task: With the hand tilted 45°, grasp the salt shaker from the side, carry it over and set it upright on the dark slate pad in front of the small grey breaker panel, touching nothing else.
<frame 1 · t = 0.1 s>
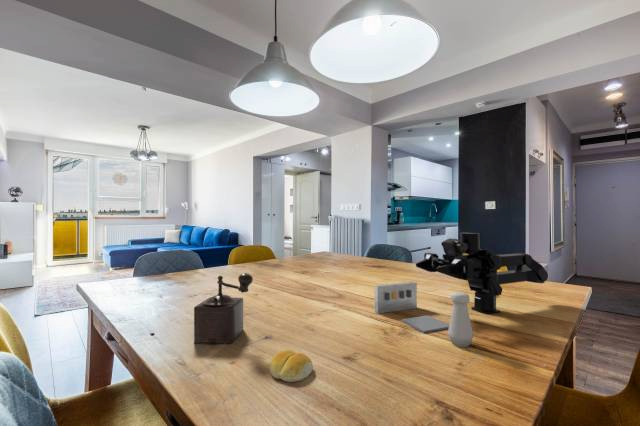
hand: (425, 267, 94), 17 cm above the table, tool horizontal, fingers open, 9 cm apart
manual coffee grinder: (228, 337, 82), on the table
bread roll: (291, 373, 64), on the table
slate pad: (425, 324, 91), on the table
salt shaker: (460, 344, 77), on the table
breaker panel: (396, 309, 105), on the table
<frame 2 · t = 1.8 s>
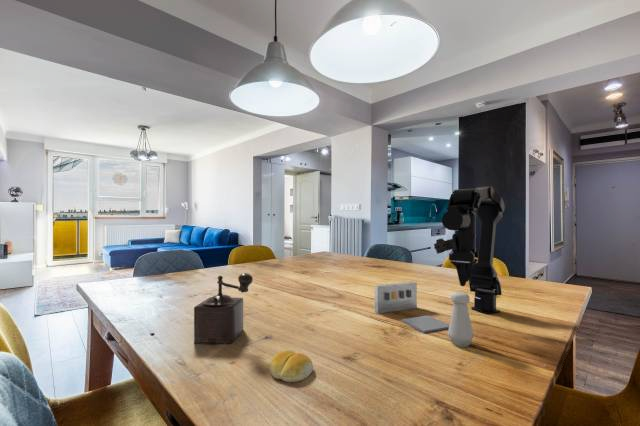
hand: (464, 283, 89), 13 cm above the table, tool pointing down, fingers open, 9 cm apart
nothing on the table moved.
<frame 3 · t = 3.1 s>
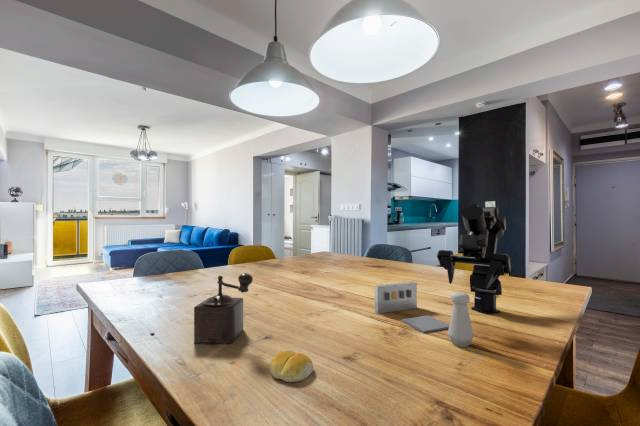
hand: (467, 285, 83), 13 cm above the table, tool tilted 45°, fingers open, 9 cm apart
nothing on the table moved.
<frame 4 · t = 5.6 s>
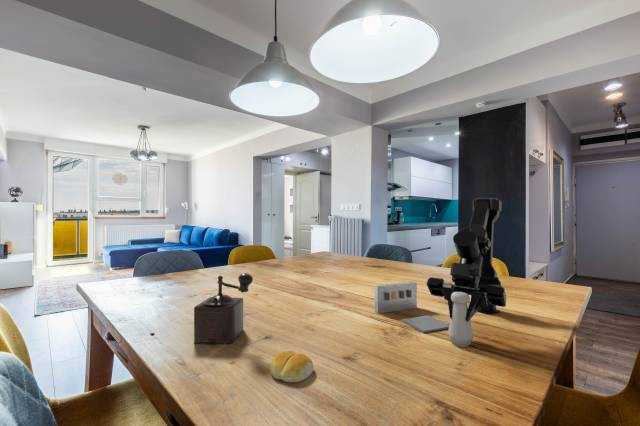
hand: (458, 319, 76), 7 cm above the table, tool tilted 45°, fingers closed on salt shaker, 3 cm apart
salt shaker: (460, 344, 77), on the table, touching gripper
everything else where it was.
when the fingers open (8 cm above the table, at t = 8.8 s): salt shaker stays where it is, resting on slate pad.
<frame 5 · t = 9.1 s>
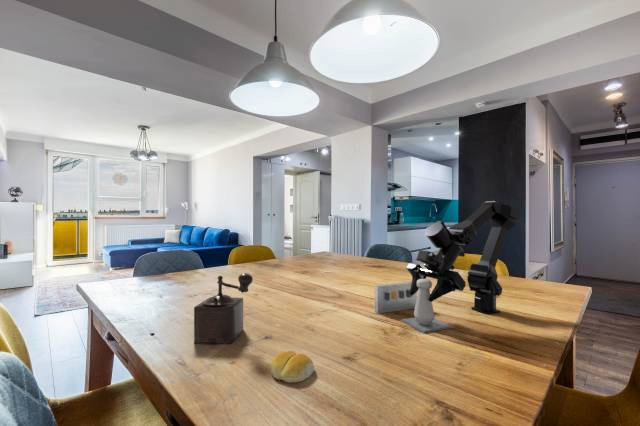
hand: (419, 297, 90), 8 cm above the table, tool tilted 45°, fingers open, 7 cm apart
salt shaker: (424, 323, 90), resting on slate pad
everything else where it was.
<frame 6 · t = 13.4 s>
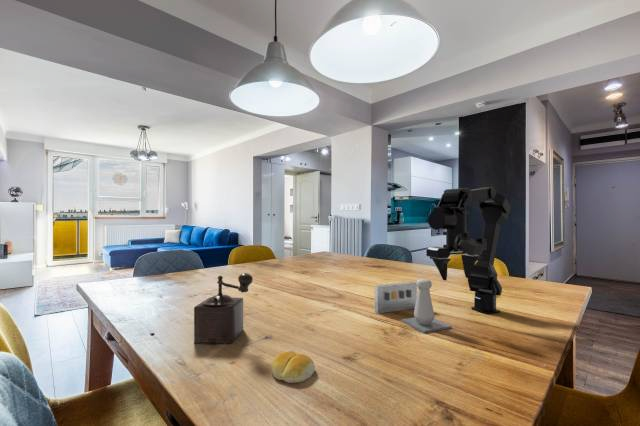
hand: (456, 279, 94), 13 cm above the table, tool pointing down, fingers open, 9 cm apart
nothing on the table moved.
at the end: salt shaker inside the target area on the slate pad (0.7 cm from its centre), point 0.4 cm above the slate pad's base; salt shaker tilted 0°; the gripper is holding nothing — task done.
